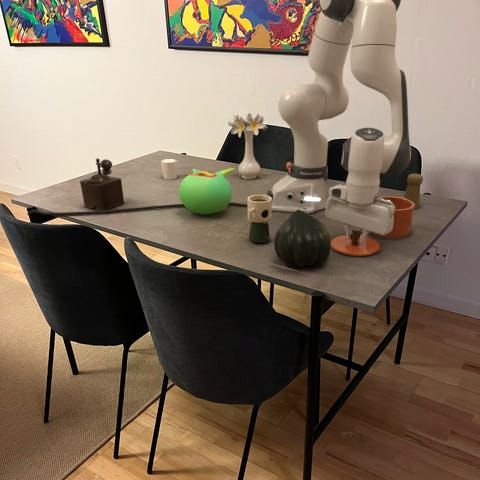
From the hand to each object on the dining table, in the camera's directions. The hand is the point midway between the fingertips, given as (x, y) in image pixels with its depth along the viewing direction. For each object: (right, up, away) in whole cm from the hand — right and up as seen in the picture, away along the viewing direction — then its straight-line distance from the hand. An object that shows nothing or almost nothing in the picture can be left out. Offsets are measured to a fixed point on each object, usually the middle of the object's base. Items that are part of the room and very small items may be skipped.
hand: (355, 240), depth 138 cm
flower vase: (-30, +37, +64) cm, 80 cm away
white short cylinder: (-63, +37, +65) cm, 97 cm away
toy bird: (-45, +14, +29) cm, 55 cm away
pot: (+13, +5, +12) cm, 19 cm away
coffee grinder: (-80, +18, +35) cm, 89 cm away
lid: (0, -1, +1) cm, 2 cm away
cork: (+27, +17, +32) cm, 45 cm away
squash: (-16, -7, -6) cm, 19 cm away
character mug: (-27, +1, +7) cm, 28 cm away
